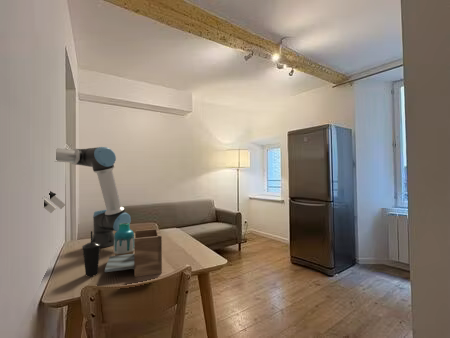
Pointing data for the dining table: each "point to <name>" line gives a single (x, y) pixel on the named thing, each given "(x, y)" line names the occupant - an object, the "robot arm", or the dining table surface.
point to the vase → (124, 240)
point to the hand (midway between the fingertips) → (58, 208)
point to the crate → (141, 255)
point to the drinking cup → (91, 257)
